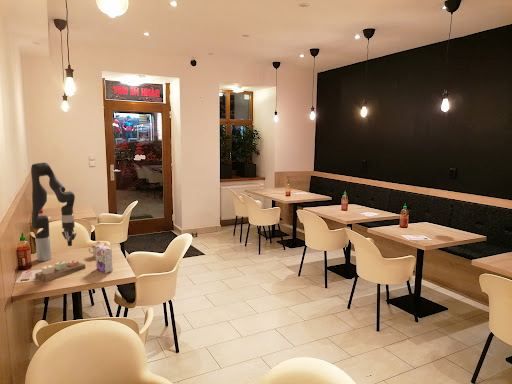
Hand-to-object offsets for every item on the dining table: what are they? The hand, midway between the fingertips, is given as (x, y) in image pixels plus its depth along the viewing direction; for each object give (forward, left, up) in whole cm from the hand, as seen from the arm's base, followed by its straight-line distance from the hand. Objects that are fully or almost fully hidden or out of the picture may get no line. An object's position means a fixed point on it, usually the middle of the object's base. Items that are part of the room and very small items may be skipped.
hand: (70, 245), depth 262 cm
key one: (0, -17, -14) cm, 22 cm away
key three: (0, +1, -16) cm, 16 cm away
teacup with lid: (-11, +29, -17) cm, 36 cm away
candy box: (+21, +10, -17) cm, 29 cm away
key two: (0, -8, -14) cm, 16 cm away
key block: (0, -8, -17) cm, 19 cm away
